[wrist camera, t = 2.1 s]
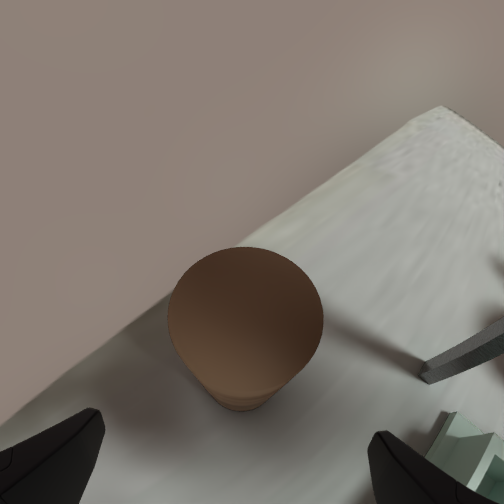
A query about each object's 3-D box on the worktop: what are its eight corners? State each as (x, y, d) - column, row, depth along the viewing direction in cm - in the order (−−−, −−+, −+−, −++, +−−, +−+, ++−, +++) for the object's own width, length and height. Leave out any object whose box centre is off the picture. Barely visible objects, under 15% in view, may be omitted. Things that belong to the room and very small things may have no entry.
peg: (251, 423, 17) (272, 422, 7) (195, 387, 18) (137, 329, 8) (285, 370, 19) (347, 291, 9) (231, 337, 20) (226, 225, 10)
